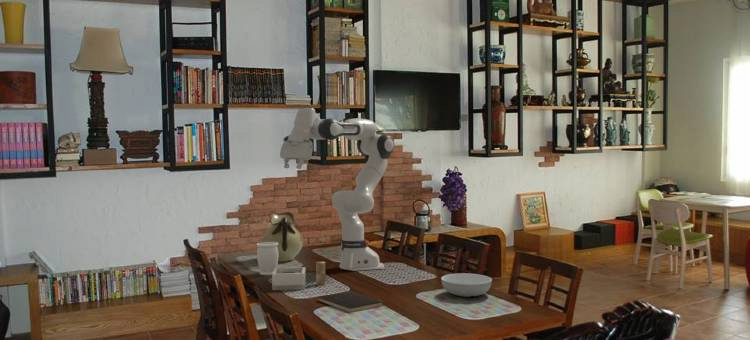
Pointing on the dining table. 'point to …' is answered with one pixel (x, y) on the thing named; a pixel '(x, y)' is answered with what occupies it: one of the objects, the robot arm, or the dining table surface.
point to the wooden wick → (320, 273)
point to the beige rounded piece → (284, 236)
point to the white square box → (289, 278)
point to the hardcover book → (350, 301)
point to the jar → (267, 257)
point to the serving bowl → (466, 284)
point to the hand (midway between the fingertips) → (292, 168)
